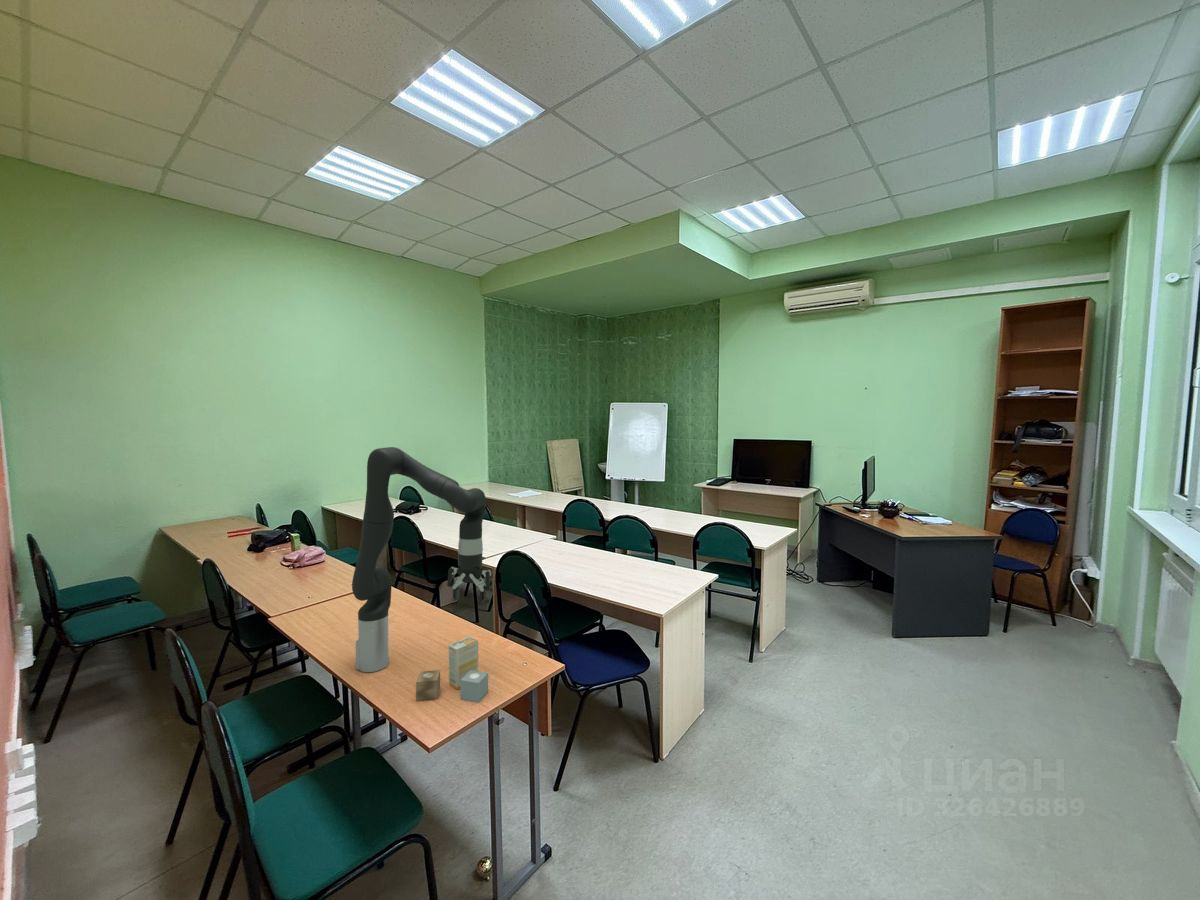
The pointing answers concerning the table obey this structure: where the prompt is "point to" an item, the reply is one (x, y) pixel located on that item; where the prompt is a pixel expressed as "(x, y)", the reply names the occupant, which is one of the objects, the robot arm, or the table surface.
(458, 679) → the supplement box
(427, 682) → the walnut block
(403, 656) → the table surface
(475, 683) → the slate block
